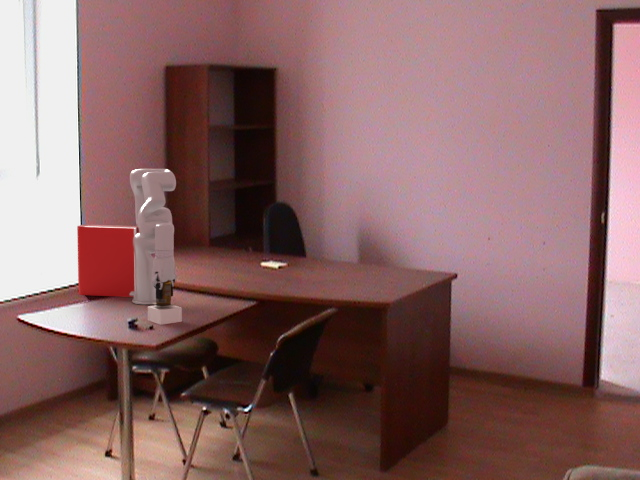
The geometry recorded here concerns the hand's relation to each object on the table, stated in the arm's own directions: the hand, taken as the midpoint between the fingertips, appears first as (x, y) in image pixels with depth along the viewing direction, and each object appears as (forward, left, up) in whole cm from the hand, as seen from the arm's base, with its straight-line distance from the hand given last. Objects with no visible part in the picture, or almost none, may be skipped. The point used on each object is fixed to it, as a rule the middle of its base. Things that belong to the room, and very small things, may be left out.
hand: (164, 297), depth 374 cm
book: (-56, +31, -10) cm, 65 cm away
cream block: (0, 0, -10) cm, 10 cm away
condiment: (0, -1, -3) cm, 3 cm away
